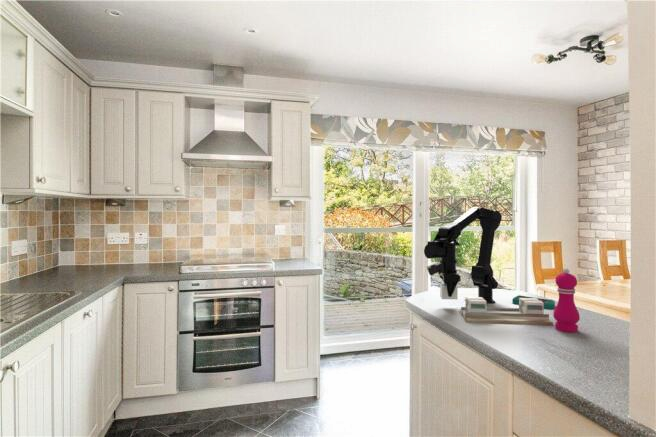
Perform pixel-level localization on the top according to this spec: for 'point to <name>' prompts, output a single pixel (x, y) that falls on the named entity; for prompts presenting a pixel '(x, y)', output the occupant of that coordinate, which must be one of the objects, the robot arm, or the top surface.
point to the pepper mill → (566, 303)
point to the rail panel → (505, 312)
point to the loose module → (445, 294)
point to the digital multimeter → (547, 303)
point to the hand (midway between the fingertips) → (448, 295)
